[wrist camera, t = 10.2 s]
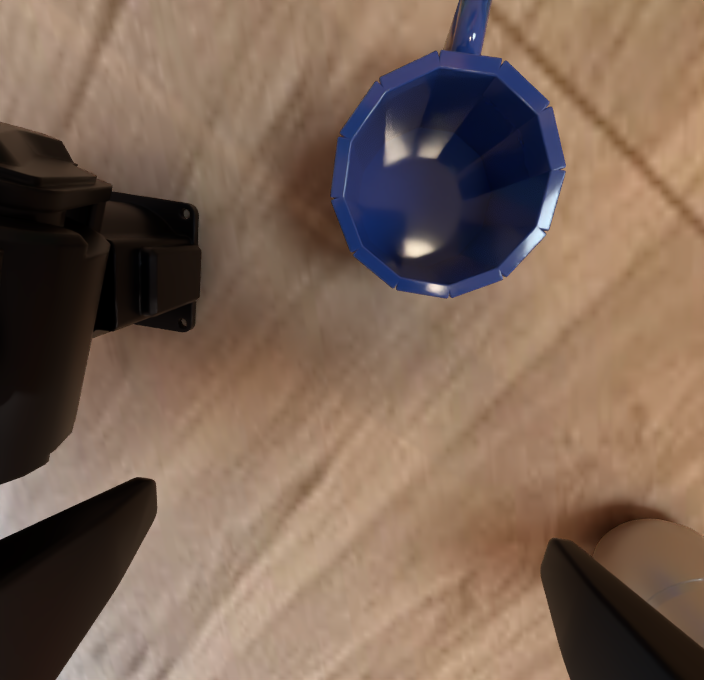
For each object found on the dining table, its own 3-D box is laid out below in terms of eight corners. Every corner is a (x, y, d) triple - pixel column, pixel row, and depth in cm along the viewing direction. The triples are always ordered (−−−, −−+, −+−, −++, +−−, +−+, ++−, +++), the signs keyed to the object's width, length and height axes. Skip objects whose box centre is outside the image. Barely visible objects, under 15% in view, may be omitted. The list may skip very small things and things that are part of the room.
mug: (341, 261, 19) (319, 278, 12) (371, 48, 17) (364, -77, 10) (475, 282, 19) (526, 311, 12) (527, 69, 16) (627, -42, 10)
